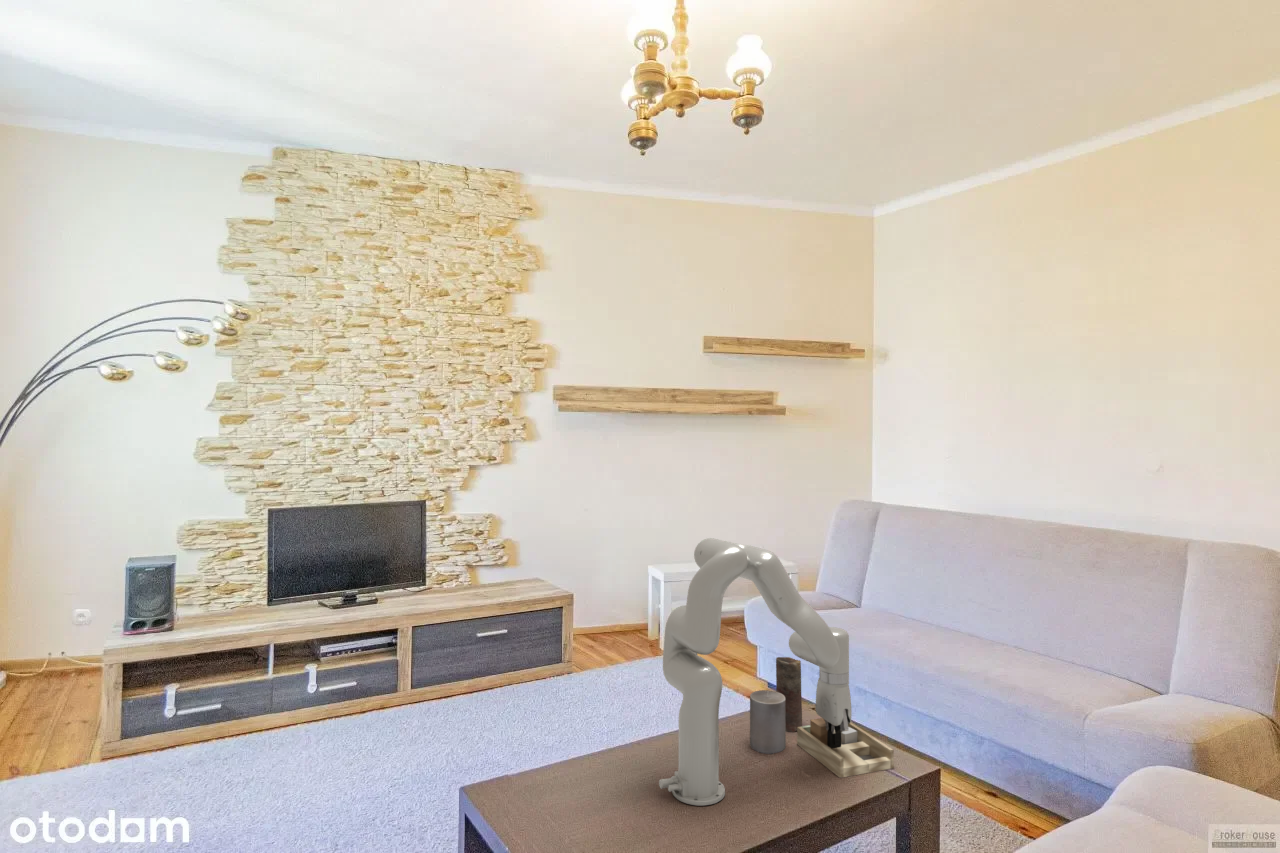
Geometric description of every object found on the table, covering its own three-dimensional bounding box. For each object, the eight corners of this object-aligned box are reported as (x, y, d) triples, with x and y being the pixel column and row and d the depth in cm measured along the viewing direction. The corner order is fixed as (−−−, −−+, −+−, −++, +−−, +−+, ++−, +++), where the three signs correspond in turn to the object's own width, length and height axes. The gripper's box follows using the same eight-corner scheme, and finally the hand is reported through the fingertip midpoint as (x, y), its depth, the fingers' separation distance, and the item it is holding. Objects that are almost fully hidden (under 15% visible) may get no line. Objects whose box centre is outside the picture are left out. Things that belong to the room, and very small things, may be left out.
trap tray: (840, 779, 176) (840, 758, 176) (797, 745, 195) (797, 727, 195) (893, 769, 181) (893, 749, 181) (846, 737, 200) (846, 719, 200)
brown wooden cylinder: (772, 723, 210) (772, 655, 210) (795, 721, 211) (795, 654, 211) (782, 734, 202) (782, 663, 202) (806, 732, 203) (806, 662, 204)
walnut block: (820, 745, 189) (820, 726, 189) (810, 738, 194) (810, 719, 194) (836, 743, 190) (836, 724, 190) (826, 735, 195) (826, 717, 195)
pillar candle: (753, 736, 200) (753, 683, 200) (788, 741, 197) (788, 687, 197) (746, 751, 191) (746, 696, 191) (783, 757, 188) (783, 700, 188)
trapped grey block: (845, 751, 190) (845, 734, 191) (833, 744, 194) (833, 728, 194) (857, 747, 193) (857, 731, 193) (845, 741, 197) (845, 725, 197)
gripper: (805, 669, 192) (806, 737, 192) (839, 687, 178) (839, 761, 178) (829, 666, 195) (829, 733, 194) (864, 684, 180) (864, 756, 180)
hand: (834, 746), depth 186 cm, fingers closed
